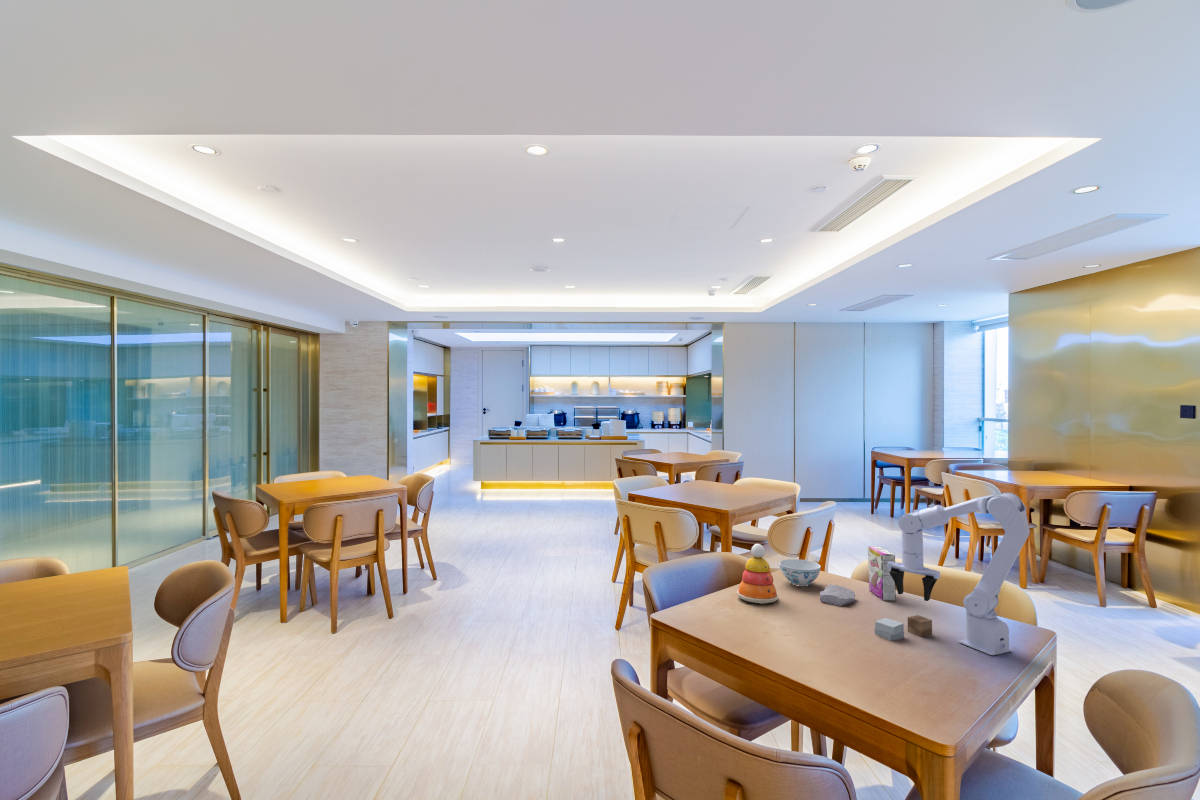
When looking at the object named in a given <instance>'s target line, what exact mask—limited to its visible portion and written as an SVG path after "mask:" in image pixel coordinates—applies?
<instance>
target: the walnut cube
mask: <svg viewBox="0 0 1200 800" xmlns="http://www.w3.org/2000/svg"><path fill="white" fill-rule="evenodd" d="M907 632H908V633H910V634H912V635H914V636H917V637H920V638H925V637H929V636H933V620H932V619H929V618H928V617H924V616H922V615H919V614H917V615H916V614H915V615H911V616H907Z"/></svg>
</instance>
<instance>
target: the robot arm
mask: <svg viewBox="0 0 1200 800" xmlns="http://www.w3.org/2000/svg"><path fill="white" fill-rule="evenodd" d="M912 511H913V512H908V513H904V514H902V515H901V516H900V517H899V519H898V523H897V524H898V527H899V528H900V530H901V562H896V561H895V562H888V563H887V568H888V569H891V571H889V572H890V575H891V577H892V578H893V580H894V582H895V585H896V592H897V594H898V595H902V594H904V577H905V576H904V575H905V573H910V574H915V575H920V576H923V577H922V578H921V581H922V585H923V600H924V601H925V602H928V601H930V599H931V594H932V591H933V588H934V587H935V585H936V583H937V581H938V580H939V579H940V578H941V571H940V570H935V569H931V568H928V567H926V566H925V565H924V539H923V538H924V537H923V530H928V529H931V528H936V527H939V526H943V525H947V524H948V523H949V521H950V520H951V518H954V517H959V516H962V515H966V514H971V513H975V512H978V513H981V514H984V515H988V514H990V516H991V517H993V518H994V519H995V520H996V521H997V522H998V523H1000V525H1001V528H1002V529H1003V531H1004V535H1002V538H1001V540H1000V542H999V543H998V546H997V548H996V550H995V551H994V552H993V555H992V557H991V559H990V561H989V563H988V564H987V567H986V568H985V570H984V572H983V574H982V576H981V578H980V580H979V581H978V583H977V584H976V586H975V587H974V588H973V590H972V591H971V592H970V593H968V594H965V596H964V598H963V603H962V604H963V606H964V607H963V608H965V620H966V621H965V622H966V623H965V625H966V629H965V631H966V634H965V635H966V636H965V637H966V638H965V639H961V640H960V639H959V641H958V642H959V643H960V644H963V645H964V646H967V647H969V648H972V649H975V650H977V651H980V652H982V653H984V654H986V655H987V654H988V655H990V656H997V655H1002V654H1004V653H1009V652H1011V651H1012V649H1011V648H1010V634H1009V633H1010V629H1009V625H1008V624H1007V623H1006V622H1005V621H1003V620H1001V619H1000V618H998V615H997V612H996V610H995V608H997V607H998V605H999V595H1000V593H1001V589H1002V587H1003V584H1004V582H1005V581H1006V578H1007V576H1008V575H1009V573H1010V570H1011V569H1012V567H1013V565H1014V563H1015V561H1016V559H1017V558H1018V556H1019V554H1020V552H1021V550H1022V548H1023V547H1024V544H1025V543H1026V541H1027V539H1028V537H1029V536H1030V533H1031V530H1030V526H1029V520H1028V516H1027V507H1026V505H1025V504H1024V502H1023V501H1022V499H1021V498H1020V497H1019V496H1017V495H1016V494H1014V493H1011V492H1003V493H1000V494H998V495H997V494H989V495H984V496H979V497H976V498H972V499H969V500H966V501H963V502H960V503H956V504H953V505H950V506H947V507H946V506H942V505H941V504H934V503H933V504H929V505H928V507H926V508H922V509H920V510H919V509H914V510H912Z"/></svg>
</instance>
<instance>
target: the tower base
mask: <svg viewBox="0 0 1200 800" xmlns="http://www.w3.org/2000/svg"><path fill="white" fill-rule="evenodd" d="M874 634H875V635H876V636H878V637H880V638H883V639H885V640H888V641H889V642H891V641H896V640H900V639H901V640H902V639H904V638H905V631H902V632H900V633H897V634H895V635H892V634H889V633H886V632H883V631H880V630H877V629H875V628H874Z"/></svg>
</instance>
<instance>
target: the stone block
mask: <svg viewBox="0 0 1200 800" xmlns="http://www.w3.org/2000/svg"><path fill="white" fill-rule="evenodd" d="M855 599H856V593H855V592H854V590H852V589H850V588H847V587H846V586H845V587H844V586H841V585H838V584H828V585H827V586H826V587H825V588H824V590H821V591H820V593H819V600H820V601H821V603H823V602H825V603H824V604H827V605H828V604H829V605H833V606H837V607H838V606H839V607H843V606H846V605H848V604H852V603H854V602H855V601H856V600H855Z"/></svg>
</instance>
